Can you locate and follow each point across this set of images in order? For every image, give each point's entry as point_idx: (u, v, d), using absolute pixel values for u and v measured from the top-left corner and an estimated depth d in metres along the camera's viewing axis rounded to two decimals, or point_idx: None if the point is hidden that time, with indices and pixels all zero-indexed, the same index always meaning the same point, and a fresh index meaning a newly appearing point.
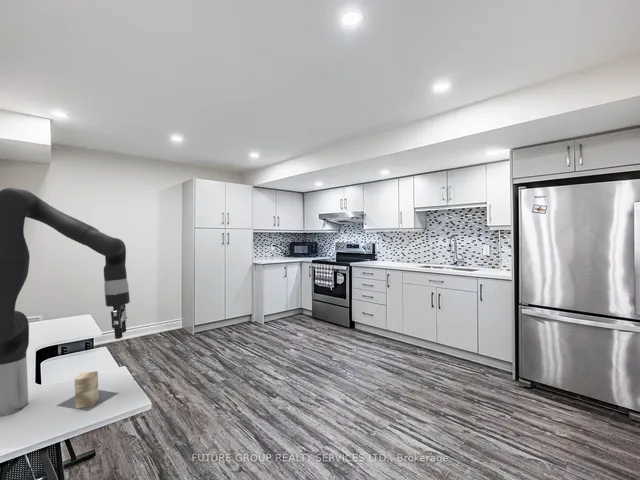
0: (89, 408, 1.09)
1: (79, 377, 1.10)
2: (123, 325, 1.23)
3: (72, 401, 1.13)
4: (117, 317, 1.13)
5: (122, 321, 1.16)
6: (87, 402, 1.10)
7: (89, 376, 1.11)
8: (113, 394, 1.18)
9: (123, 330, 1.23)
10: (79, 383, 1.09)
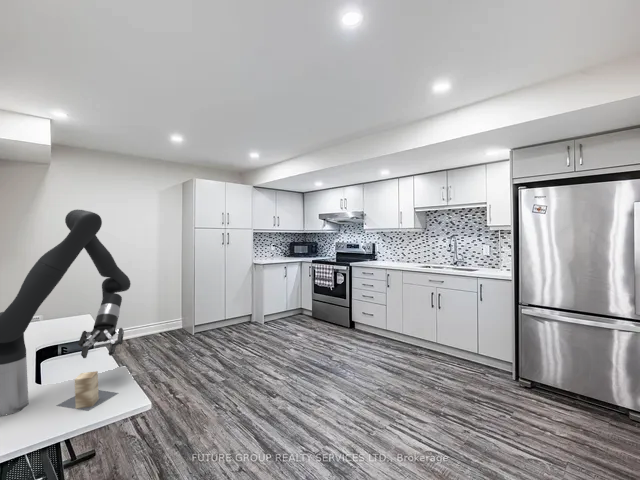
0: (89, 408, 1.09)
1: (79, 377, 1.10)
2: (87, 350, 1.22)
3: (72, 401, 1.13)
4: (122, 335, 1.28)
5: None
6: (87, 402, 1.10)
7: (89, 376, 1.11)
8: (113, 394, 1.18)
9: (86, 355, 1.20)
10: (79, 383, 1.09)
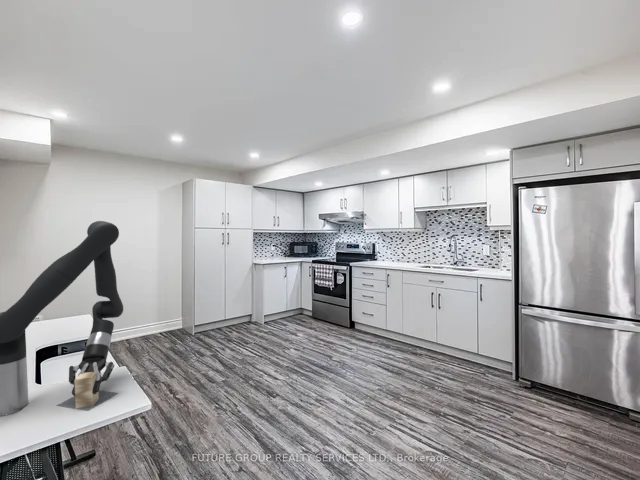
0: (89, 408, 1.09)
1: (79, 377, 1.10)
2: None
3: (72, 401, 1.13)
4: (111, 370, 1.17)
5: None
6: (87, 402, 1.10)
7: (89, 376, 1.10)
8: (113, 394, 1.18)
9: None
10: (79, 383, 1.09)
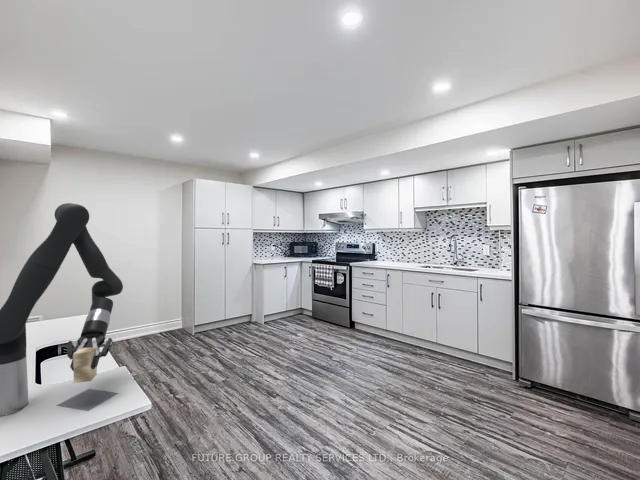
0: (89, 408, 1.09)
1: (78, 351, 1.10)
2: None
3: (72, 401, 1.13)
4: (110, 346, 1.17)
5: None
6: (85, 377, 1.09)
7: (88, 351, 1.10)
8: (113, 394, 1.18)
9: None
10: (78, 357, 1.08)
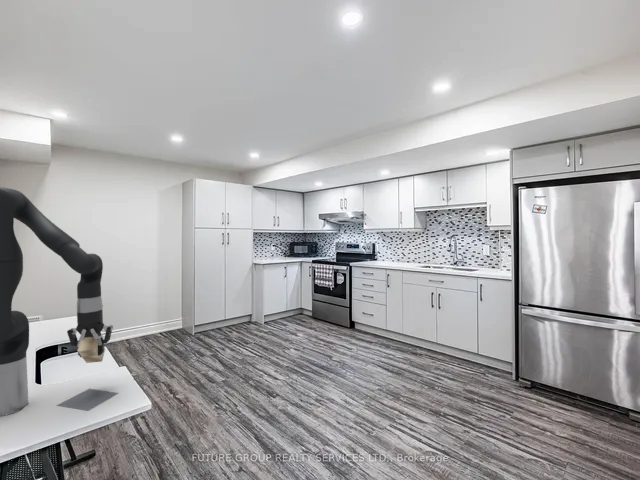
0: (89, 408, 1.09)
1: (81, 347, 1.13)
2: None
3: (72, 401, 1.13)
4: (110, 332, 1.19)
5: None
6: (96, 360, 1.19)
7: (91, 346, 1.14)
8: (113, 394, 1.18)
9: None
10: (83, 352, 1.13)
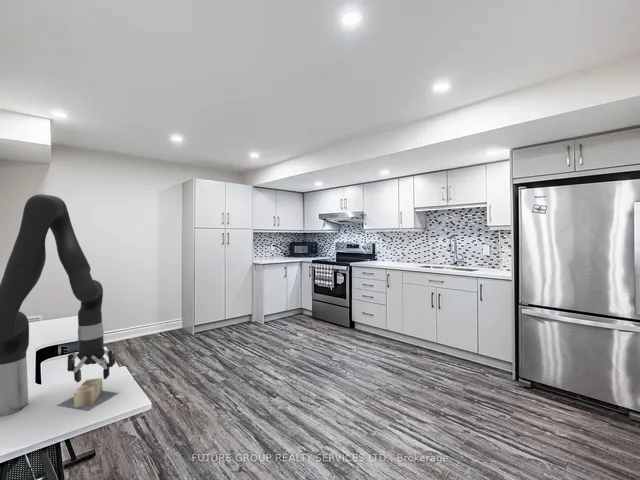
0: (89, 408, 1.09)
1: (77, 403, 1.10)
2: (80, 373, 1.17)
3: (72, 401, 1.13)
4: (113, 355, 1.19)
5: None
6: None
7: (87, 402, 1.10)
8: (113, 394, 1.18)
9: (80, 378, 1.17)
10: None
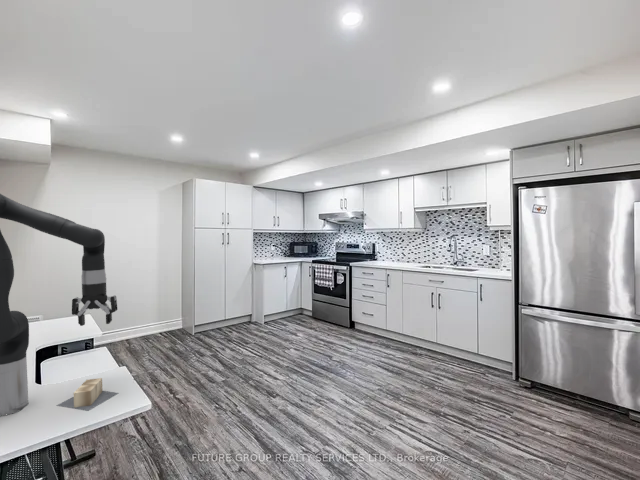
0: (89, 408, 1.09)
1: (77, 403, 1.10)
2: (83, 317, 1.21)
3: (72, 401, 1.13)
4: (116, 301, 1.24)
5: None
6: None
7: (87, 402, 1.10)
8: (113, 394, 1.18)
9: (83, 322, 1.21)
10: None
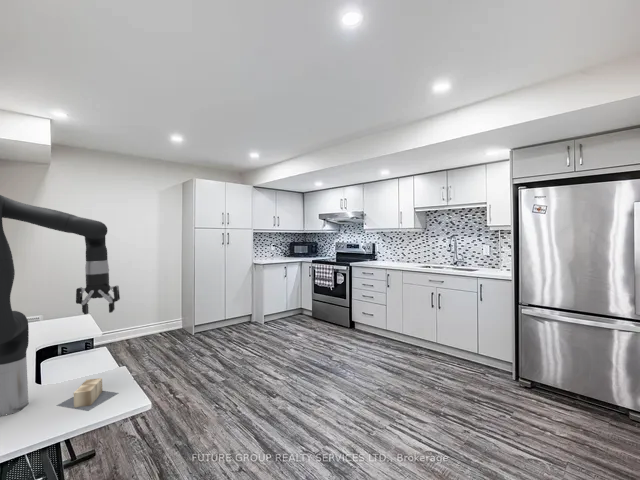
0: (89, 408, 1.09)
1: (77, 403, 1.10)
2: (87, 306, 1.26)
3: (72, 401, 1.13)
4: (118, 291, 1.29)
5: None
6: None
7: (87, 402, 1.10)
8: (113, 394, 1.18)
9: (87, 311, 1.26)
10: None
